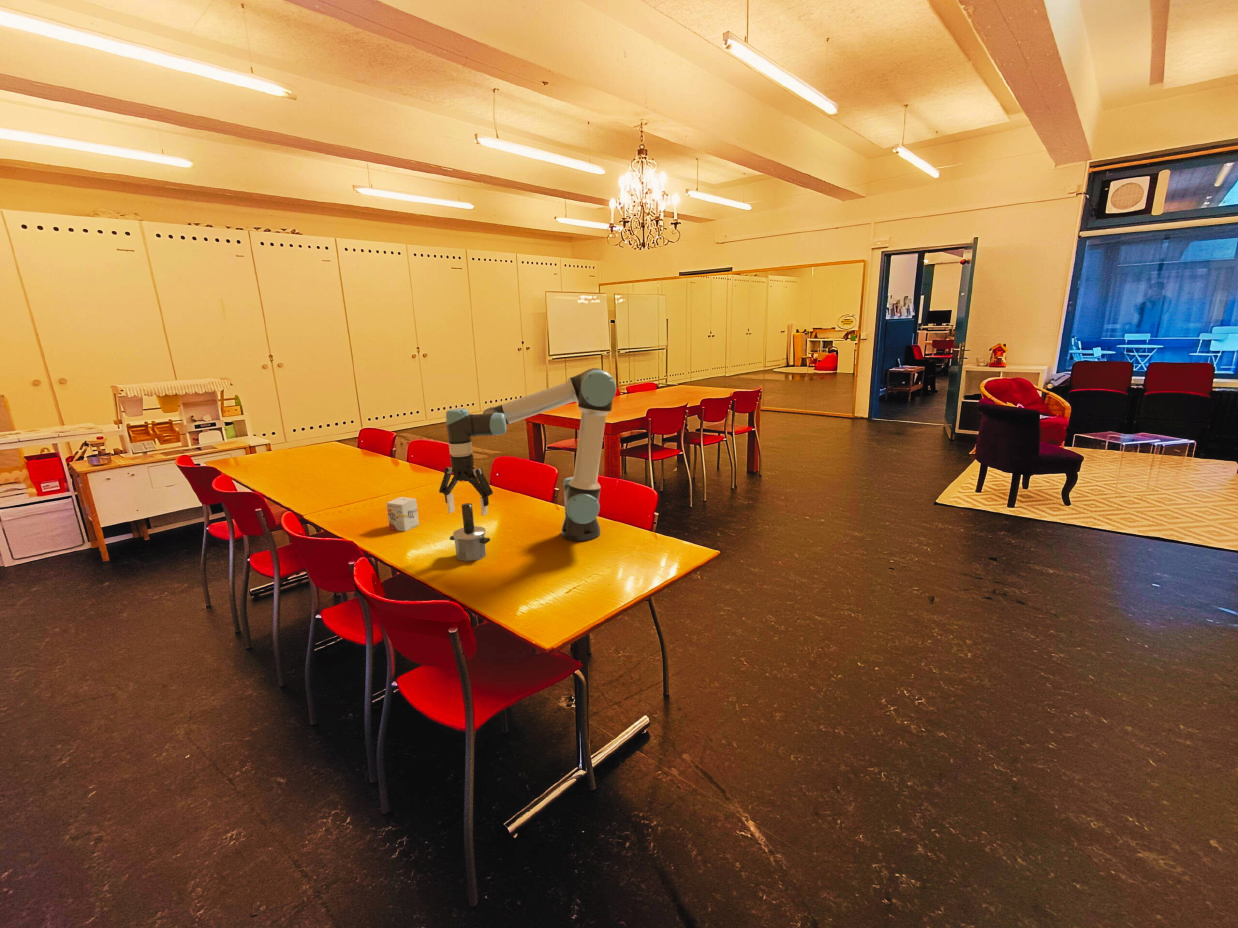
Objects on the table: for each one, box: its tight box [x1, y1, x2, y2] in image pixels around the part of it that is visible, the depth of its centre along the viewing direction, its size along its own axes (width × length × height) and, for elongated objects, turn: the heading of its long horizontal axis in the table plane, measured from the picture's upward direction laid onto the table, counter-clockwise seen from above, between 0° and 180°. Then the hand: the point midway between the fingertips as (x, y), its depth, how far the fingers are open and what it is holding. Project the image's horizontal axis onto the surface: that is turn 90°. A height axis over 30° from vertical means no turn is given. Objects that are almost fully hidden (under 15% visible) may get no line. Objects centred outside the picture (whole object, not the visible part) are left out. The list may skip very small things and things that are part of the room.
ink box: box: [385, 496, 420, 532], centre depth 222 cm, size 9×9×12 cm
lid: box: [452, 502, 487, 541], centre depth 189 cm, size 11×11×11 cm
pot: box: [449, 535, 491, 563], centre depth 191 cm, size 15×10×8 cm
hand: (468, 513), depth 188 cm, fingers open, 13 cm apart
